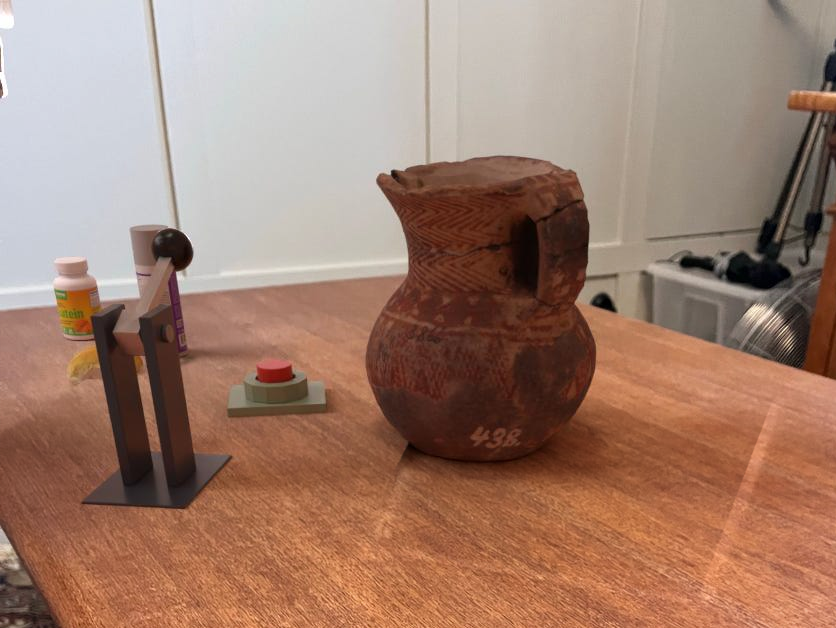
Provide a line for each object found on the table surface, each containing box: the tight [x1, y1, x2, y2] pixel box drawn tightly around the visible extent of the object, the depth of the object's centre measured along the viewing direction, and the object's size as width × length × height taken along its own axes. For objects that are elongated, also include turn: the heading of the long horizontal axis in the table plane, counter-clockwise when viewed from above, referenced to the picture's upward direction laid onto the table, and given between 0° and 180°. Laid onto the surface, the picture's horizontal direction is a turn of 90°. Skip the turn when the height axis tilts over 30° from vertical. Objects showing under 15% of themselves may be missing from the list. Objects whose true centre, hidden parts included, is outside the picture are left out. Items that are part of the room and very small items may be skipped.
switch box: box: [226, 368, 328, 418], centre depth 107 cm, size 10×8×4 cm
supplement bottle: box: [52, 256, 103, 341], centre depth 133 cm, size 5×5×10 cm
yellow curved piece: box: [66, 344, 144, 386], centre depth 118 cm, size 8×9×4 cm
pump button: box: [256, 359, 293, 383], centre depth 106 cm, size 4×4×2 cm
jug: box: [364, 154, 597, 463], centre depth 95 cm, size 22×21×25 cm
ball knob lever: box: [112, 227, 195, 357], centre depth 86 cm, size 14×4×4 cm, turn 173°
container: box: [129, 224, 189, 358], centre depth 124 cm, size 5×5×15 cm
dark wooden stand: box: [81, 303, 233, 510], centre depth 86 cm, size 12×9×16 cm
